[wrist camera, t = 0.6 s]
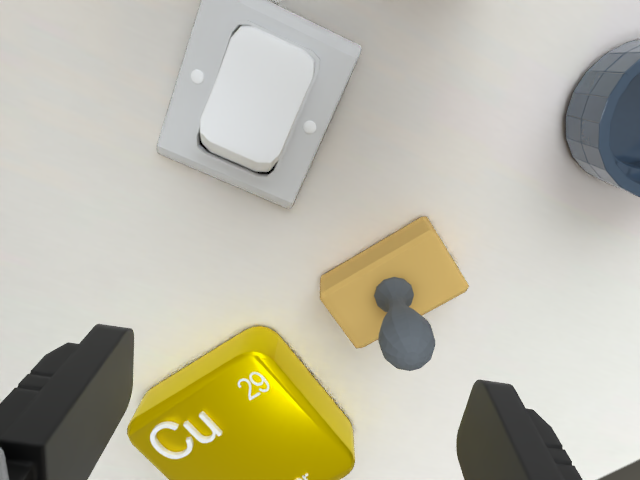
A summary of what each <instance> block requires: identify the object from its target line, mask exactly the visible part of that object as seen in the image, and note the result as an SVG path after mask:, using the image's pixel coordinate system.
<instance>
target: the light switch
mask: <svg viewBox="0 0 640 480" xmlns="http://www.w3.org/2000/svg"><path fill="white" fill-rule="evenodd" d="M240 25H241V27H240V28H239V29H238V30H237V31H236V29H237V28H238V27H239V26H240ZM235 31H236V32H235ZM234 32H235V33H234ZM360 53H361V46H360V45H359V44H357V43H355V42H353V41H350V40H348V39H346V38H344V37H342V36H340V35H338V34H336V33H334V32H332V31H330V30H328V29H326V28H324V27H322V26H319V25H317V24H315V23H313V22H311V21H309V20H307V19H305V18H303V17H301V16H299V15H297V14H295V13H293V12H290V11H288V10H286V9H284V8H282V7H280V6H278V5H276V4H274V3H272V2H270V1H268V0H201V2H200V6H199V9H198V12H197V16H196V19H195V22H194V25H193V29H192V32H191V35H190V38H189V42H188V45H187V48H186V52H185V55H184V58H183V61H182V65H181V68H180V71H179V74H178V78H177V81H176V84H175V88H174V91H173V94H172V97H171V101H170V104H169V107H168V110H167V114H166V117H165V120H164V124H163V127H162V130H161V133H160V137H159V140H158V143H157V152H158V153H159V154H161V155H163V156H165V157H168V158H170V159H172V160H175V161H177V162H179V163H182V164H184V165H186V166H189V167H191V168H194V169H196V170H198V171H201V172H203V173H205V174H208V175H210V176H212V177H215V178H217V179H219V180H222V181H224V182H226V183H229V184H231V185H233V186H236V187H238V188H240V189H243V190H245V191H247V192H250V193H252V194H254V195H257V196H259V197H262V198H264V199H266V200H269V201H271V202H273V203H276V204H278V205H280V206H283V207H285V208H289V209H290V208H291V207H292V206H293V204H294V202H295V199H296V197H297V195H298V193H299V190H300V188H301V186H302V184H303V181H304V179H305V177H306V175H307V172H308V170H309V168H310V166H311V164H312V161H313V159H314V157H315V155H316V152H317V150H318V148H319V146H320V143H321V141H322V139H323V137H324V134H325V132H326V130H327V128H328V125H329V123H330V121H331V119H332V116H333V114H334V112H335V110H336V107H337V105H338V103H339V101H340V99H341V96H342V94H343V92H344V90H345V87H346V85H347V83H348V81H349V78H350V76H351V74H352V72H353V69H354V67H355V65H356V63H357V60H358V58H359V56H360ZM199 134H200V137H201V142H202V144H203V145H204V146H205V147H206V148H207V149H208V150H209V151H210V152H212V153H210V152H208V151H206V150H205V149H204V148H203V147H202V146H201V145H200V139H199ZM213 153H214V154H213ZM215 154H216V155H215ZM217 155H218V156H217ZM220 156H221V157H220ZM222 157H223V158H222ZM224 158H225V159H224ZM227 159H228V160H227ZM229 160H230V161H229ZM231 161H232V162H231ZM234 162H235V163H234ZM236 163H237V164H236ZM238 164H239V165H238ZM241 165H242V166H241ZM275 165H276V167H275V169H274V170H273V171H272V172H271V173H269V174H259V173H257V172H269V171H270V170H271V169H272V168H273V167H274V166H275ZM243 166H244V167H243ZM245 167H246V168H245ZM247 168H248V169H247ZM250 169H251V170H250ZM252 170H253V171H252ZM254 171H255V172H254Z"/></svg>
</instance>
